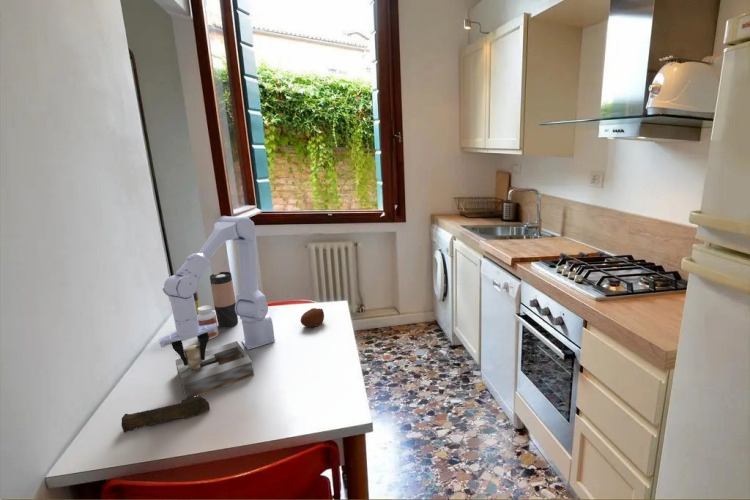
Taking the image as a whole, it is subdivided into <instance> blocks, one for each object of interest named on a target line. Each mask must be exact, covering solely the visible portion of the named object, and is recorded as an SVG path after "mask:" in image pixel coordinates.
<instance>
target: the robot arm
mask: <svg viewBox="0 0 750 500" xmlns="http://www.w3.org/2000/svg"><path fill="white" fill-rule="evenodd" d="M213 225H214V226H213V227H214V228H213V230H212V232H211V234H209V236H208V238H207V239H206V241H205V242H204V243H203V245H202V246H201V248H200V250H199V251H198V252H196V253H195V252H194V253H191V254H190V255H188V256H186V259H185V261H184V263H183V264H182V265H181V266H180V268H179V269H177V270H176V271H175V274H173V275H171V276H169V277H168V278H166V280H165V281H164V284H163V285H164V286H163V288H162V291H163V293H164V294H165V296H167V297H168V299H169V300H168V301H169V302H170V306H171V310H172V316H173V319H174V320H173V321H174V324H175V325H174V326H175V331H176V332H174V333H171V334H169V335H167V336H164V337H160V338H158V341H159V344H160V348H162V349H163V348H165V347H166V346H169V345H171V347H172V349H173V350H174V351H175V352H176V353H177V354H178V356H179V357H180V358H181V359H182V361H183V363H184V366H187V361H186V358H185V353H184V349H185V348H184V345H183V342H182V341H187V340H190V339H194V338H197V341H198V345H199V347H200V352H201V357H202V360H205V351H206V350H207V346H208V343H209V342H210V339H209V336H208V333H211V332H214V333H215V332H219V330H218V331H217V326H218V324H217V325H216V324H210V325H204V326H199V323H198V317H197V312H196V306H195V301H194V296H193V294H194V293H195V292H196V291H197V289H198V283H199V280H200V279H201V278H202V276H203V275H204V273H205V272H206V271H208V270H207V269H208V268H209V267H210V259H211V258H212V257H213V256H214V255H215V253H216V252H218V250H219V249H220V248H221V247H222V245H223V244H224V243H225V242H227V241H231V240H232V241H233V242H235V243H236V244H238V252H239V253H238V254H239V270H240V271H239V273H240V275H239V276H240V289H241V290H240V292H239V293H238V294H237V295H236V296H235V300H236V305H235V312H236V314H237V317H239V319H240V320H241V324H242V330H243V337H244V339H241V342H242V344H243V346H245V348H246V350H249V351H250V350H251V349H256V348H258V347H261V346H265V345H268V344H271V343H274V342H276V339H275V331H274V325H273V320H272V317H271V315H270V314H269V313H268V311H269V305H268V303H267V299H266V298H267V297H266V296H265V294H263V292H262V291H260V289H259V272H258V271H259V270H258V269H259V268H258V250H257V249H258V248H257V247H258V246H257V237H256V233H255V232H256V231H255V222H254V221H253V220H251V218H249V216H227V215H222V216H220V217H219V218H218V219H217V222H215V223H214V224H213Z"/></svg>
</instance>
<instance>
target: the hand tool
mask: <svg viewBox="0 0 750 500" xmlns="http://www.w3.org/2000/svg"><path fill="white" fill-rule="evenodd" d="M210 410H211V407H210V403H209V402H208V401H207V399H206V398H205V397H202V396H201V395H198V396H196V397H191V398H186V397H185V398H183V399H181V401H180V402H178V403H175V404H170V405H165V406H161V407H158V408H153V409H148V410H143V411H137V412H134V413H124V414H123V416H122V417H121V430H122V431H123V433H125V434H126V433H127V432H128V431H134V430H135V429H139V428H143V427H148V426H149V425H150V426H151V425H154V424H155V425H156V424H157V425H158V424H160V423H164V422H167V421H168V422H169V421H172V420H175V419H180V418H183V419H185V420H187V419H191V418H194V417H196V416H199V415H201V414H205V413H206V412H208V411H210Z"/></svg>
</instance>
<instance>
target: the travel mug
mask: <svg viewBox="0 0 750 500" xmlns="http://www.w3.org/2000/svg"><path fill="white" fill-rule="evenodd" d="M209 281H210V287H211V295H212V300H213V305H214V312H215V315H216V320H217V326H218V328H220V329H228V328H232V327H235V326H236V325H237V324H239V316H238V315H237V314H236V312H235V305H236V296H235V291H234V282H233V277H232V272H230V271H220V272H218V273H217V274H214V273H213V274H210V275H209Z"/></svg>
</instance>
